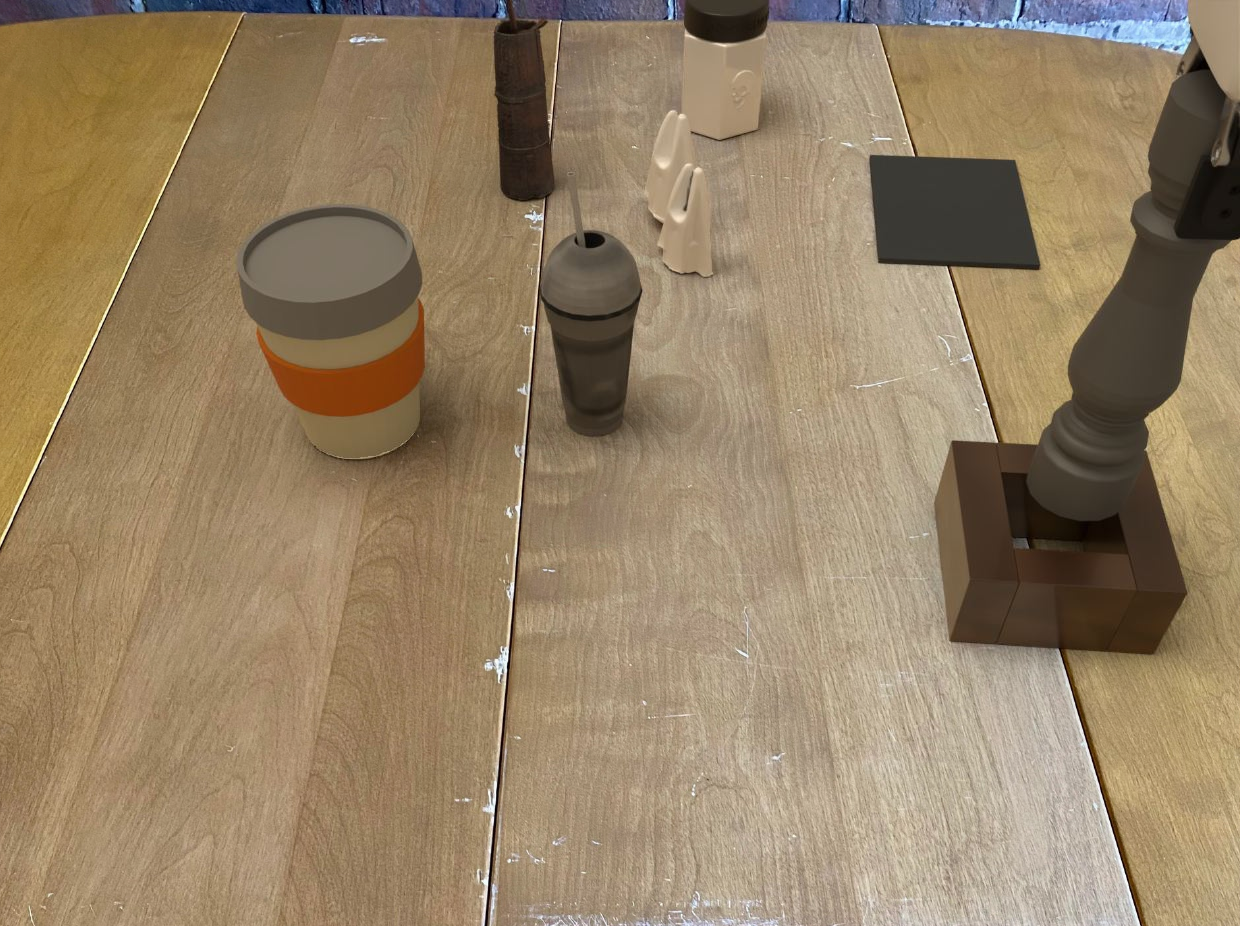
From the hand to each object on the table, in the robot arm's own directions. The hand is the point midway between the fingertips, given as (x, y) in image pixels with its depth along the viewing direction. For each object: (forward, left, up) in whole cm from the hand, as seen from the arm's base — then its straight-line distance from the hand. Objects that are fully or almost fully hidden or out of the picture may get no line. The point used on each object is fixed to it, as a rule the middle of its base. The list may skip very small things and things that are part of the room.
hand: (1193, 196), depth 59 cm
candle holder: (0, 0, -20) cm, 20 cm away
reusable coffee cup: (+50, -12, -28) cm, 59 cm away
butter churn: (+41, -48, -28) cm, 69 cm away
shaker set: (+27, -39, -28) cm, 55 cm away
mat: (+2, -46, -28) cm, 54 cm away
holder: (0, 0, -28) cm, 28 cm away
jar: (+24, -62, -28) cm, 72 cm away
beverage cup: (+32, -14, -28) cm, 45 cm away
